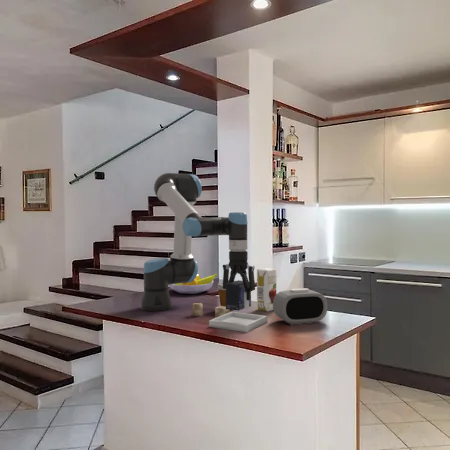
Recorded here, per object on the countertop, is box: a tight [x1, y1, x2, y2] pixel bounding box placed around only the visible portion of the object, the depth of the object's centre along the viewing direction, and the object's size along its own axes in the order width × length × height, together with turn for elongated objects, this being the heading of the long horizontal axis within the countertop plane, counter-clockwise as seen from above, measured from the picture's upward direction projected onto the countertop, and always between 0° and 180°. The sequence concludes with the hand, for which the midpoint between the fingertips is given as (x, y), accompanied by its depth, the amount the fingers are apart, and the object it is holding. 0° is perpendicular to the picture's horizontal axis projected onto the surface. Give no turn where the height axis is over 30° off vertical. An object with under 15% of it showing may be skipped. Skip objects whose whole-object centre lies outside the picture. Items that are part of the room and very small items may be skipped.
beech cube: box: [214, 305, 231, 318], centre depth 191 cm, size 4×4×4 cm
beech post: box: [192, 302, 204, 317], centre depth 196 cm, size 4×4×5 cm
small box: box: [226, 279, 252, 312], centre depth 178 cm, size 11×6×10 cm, turn 148°
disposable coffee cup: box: [217, 282, 233, 312], centre depth 206 cm, size 10×10×12 cm
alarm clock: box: [272, 287, 328, 326], centre depth 182 cm, size 21×10×13 cm, turn 106°
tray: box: [208, 311, 268, 333], centre depth 179 cm, size 17×18×2 cm
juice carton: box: [256, 267, 277, 312], centre depth 206 cm, size 8×9×19 cm
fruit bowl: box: [168, 273, 218, 295], centre depth 254 cm, size 28×27×11 cm
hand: (238, 307), depth 178 cm, fingers closed on small box, 6 cm apart
